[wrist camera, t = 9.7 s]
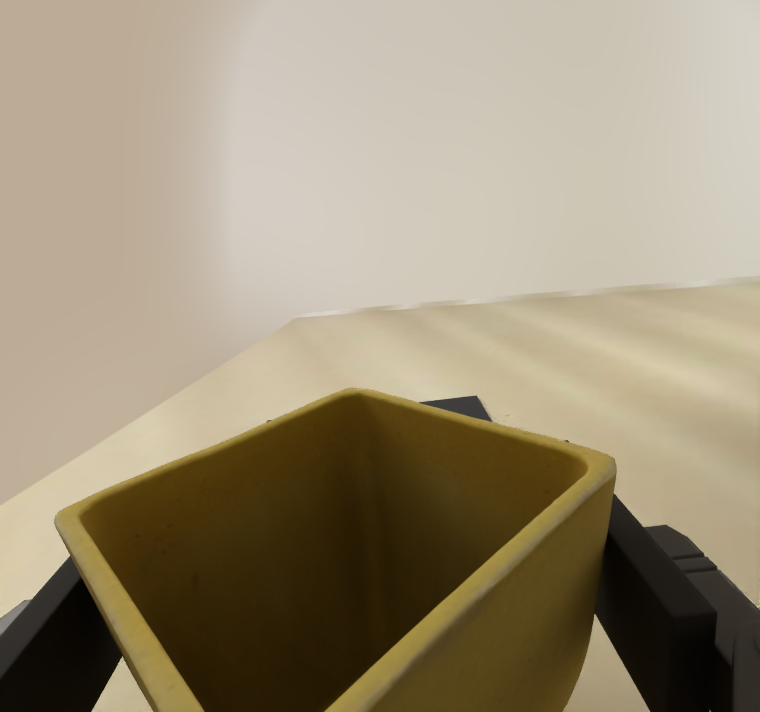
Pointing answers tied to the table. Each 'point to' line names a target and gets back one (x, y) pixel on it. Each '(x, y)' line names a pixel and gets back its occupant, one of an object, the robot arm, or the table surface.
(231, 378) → the table surface
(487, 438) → the flower pot
